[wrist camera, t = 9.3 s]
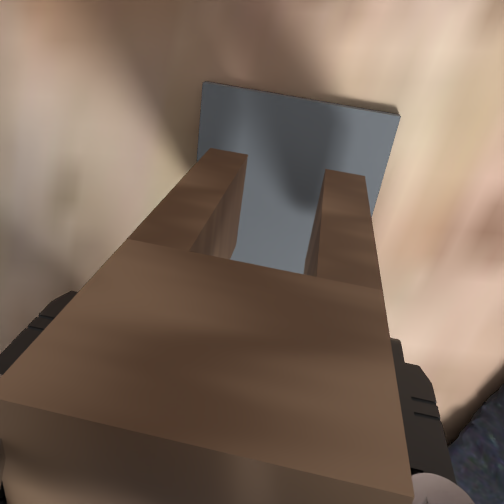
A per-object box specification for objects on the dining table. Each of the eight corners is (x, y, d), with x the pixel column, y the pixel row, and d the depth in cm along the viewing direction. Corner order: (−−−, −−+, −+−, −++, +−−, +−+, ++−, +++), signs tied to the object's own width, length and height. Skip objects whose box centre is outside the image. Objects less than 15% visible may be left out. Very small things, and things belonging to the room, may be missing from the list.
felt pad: (399, 114, 18) (400, 116, 18) (351, 281, 22) (351, 285, 22) (205, 81, 19) (202, 82, 19) (191, 248, 23) (189, 252, 22)
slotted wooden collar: (364, 176, 17) (414, 497, 6) (340, 266, 19) (343, 637, 8) (210, 147, 18) (-16, 395, 6) (202, 238, 20) (17, 551, 8)
